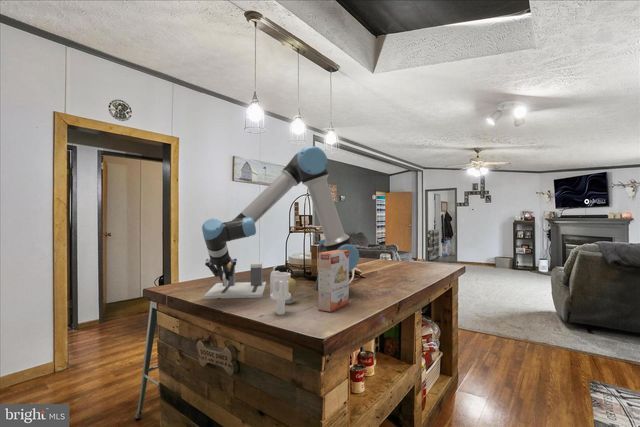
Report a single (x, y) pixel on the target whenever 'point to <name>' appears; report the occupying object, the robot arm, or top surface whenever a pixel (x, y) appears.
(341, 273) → the cracker box
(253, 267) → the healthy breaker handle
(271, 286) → the medicine bottle
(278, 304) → the white stepped cylinder
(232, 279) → the block
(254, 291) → the plate
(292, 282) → the light bulb
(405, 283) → the top surface
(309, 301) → the top surface
